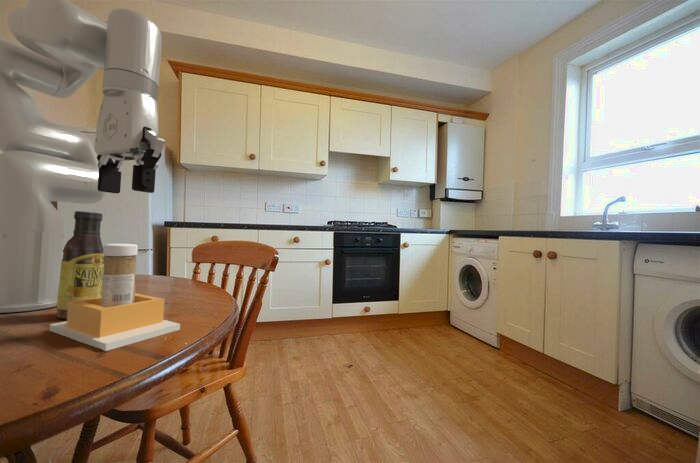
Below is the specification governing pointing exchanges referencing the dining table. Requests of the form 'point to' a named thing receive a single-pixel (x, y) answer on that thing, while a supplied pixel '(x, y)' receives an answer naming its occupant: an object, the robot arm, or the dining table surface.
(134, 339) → the socket base
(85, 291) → the sauce bottle
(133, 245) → the sprinkles bottle
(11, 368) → the dining table surface
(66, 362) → the dining table surface
